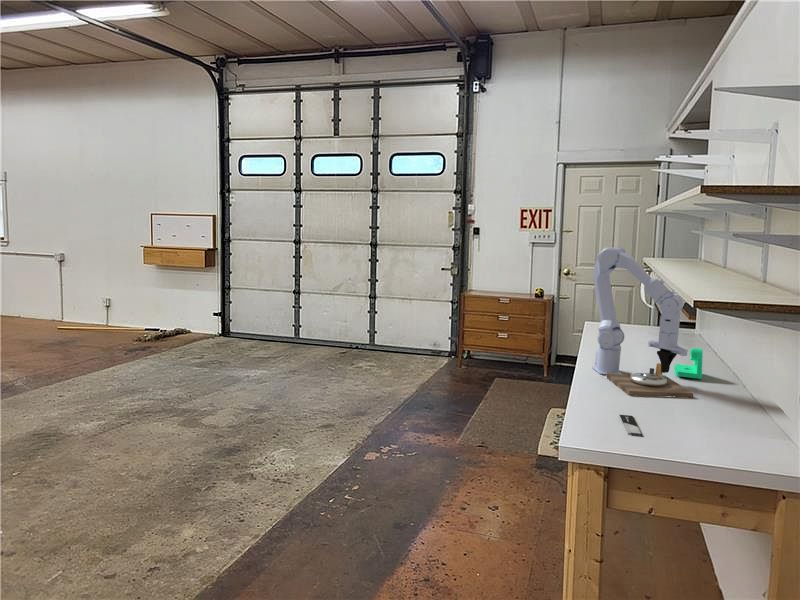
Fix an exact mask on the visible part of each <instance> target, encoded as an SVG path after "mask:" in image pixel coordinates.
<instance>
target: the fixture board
mask: <svg viewBox="0 0 800 600" xmlns="http://www.w3.org/2000/svg"><path fill="white" fill-rule="evenodd" d="M631 374H632V373H622V374H614V373H607V375H606V376H605V377H607V378H606V379H608V380H609V381H610V382H611V381H612V382H611V383H612V384H614V385H615V386H616V387H617V388H618V389H620V390H621V389H622V391H623V392H624V393H625V394H626V393H627V394H626V395H627V396H629V395H637V396H636V397H639V396H640V397H654V396H675V397H674V398H681V397H688V398H689V399H694V392H692V391H691V390H689V389H688V388H686V387H684V386H683V385H681V384H679V383H677V382H676V381H674V380H673V379H671V378H670V377H668V376H667V375H666V374H665V375H664V374H663V376H662V377H664V378H666V379H667V384H666V385H664V386H648V385H642V384H638V383H635V382H633V381H631V380H630V375H631ZM688 398H687V399H688Z"/></svg>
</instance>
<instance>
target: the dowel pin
mask: <svg viewBox="0 0 800 600" xmlns="http://www.w3.org/2000/svg"><path fill="white" fill-rule="evenodd" d="M648 373H650V374H654V373H655V368H653V367H652V368H651V367H650V368H649V372H648Z"/></svg>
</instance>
